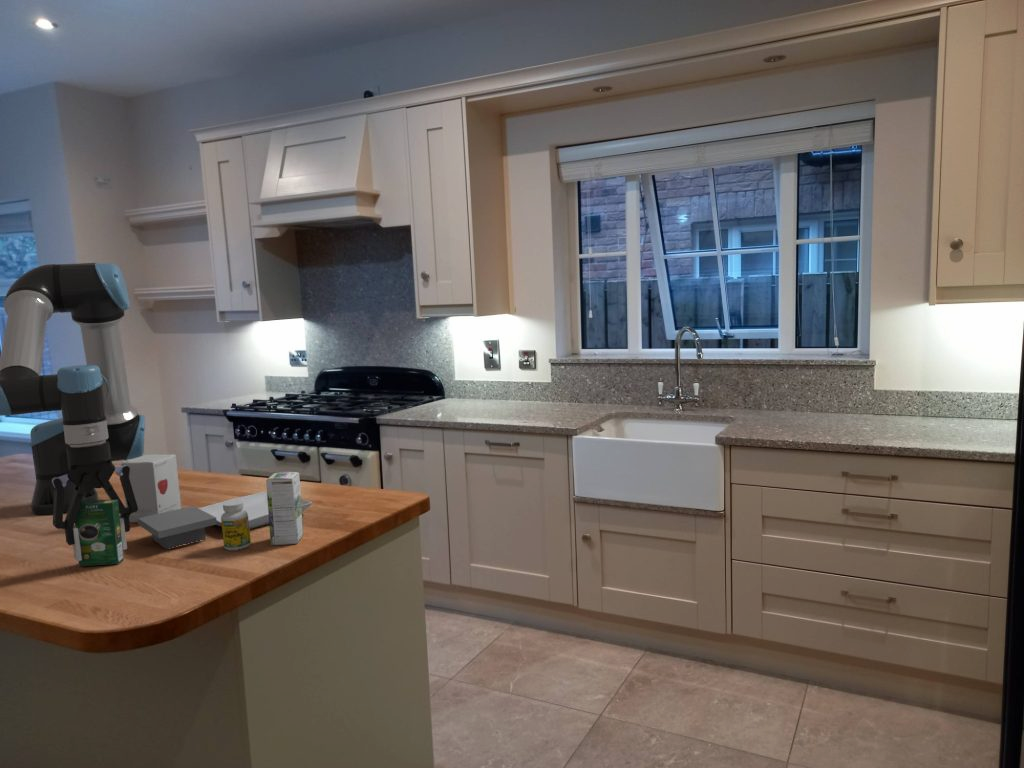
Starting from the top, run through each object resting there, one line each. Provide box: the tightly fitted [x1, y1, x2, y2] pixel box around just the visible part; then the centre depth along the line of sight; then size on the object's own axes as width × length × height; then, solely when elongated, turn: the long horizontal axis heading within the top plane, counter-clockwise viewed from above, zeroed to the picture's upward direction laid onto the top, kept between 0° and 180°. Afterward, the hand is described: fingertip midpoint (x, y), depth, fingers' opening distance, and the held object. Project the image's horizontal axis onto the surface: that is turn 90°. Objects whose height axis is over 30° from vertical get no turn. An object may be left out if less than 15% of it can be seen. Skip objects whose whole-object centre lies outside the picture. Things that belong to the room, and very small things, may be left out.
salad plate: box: [198, 490, 313, 530], centre depth 176 cm, size 21×21×3 cm
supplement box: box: [120, 453, 182, 523], centre depth 179 cm, size 9×9×15 cm
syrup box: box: [265, 471, 304, 546], centre depth 157 cm, size 6×6×14 cm
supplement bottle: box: [221, 500, 252, 551], centre depth 155 cm, size 5×5×10 cm
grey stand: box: [137, 505, 217, 550], centre depth 162 cm, size 14×12×5 cm
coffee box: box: [74, 499, 124, 567], centre depth 148 cm, size 8×3×13 cm, turn 94°
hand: (101, 553), depth 149 cm, fingers closed on coffee box, 8 cm apart
